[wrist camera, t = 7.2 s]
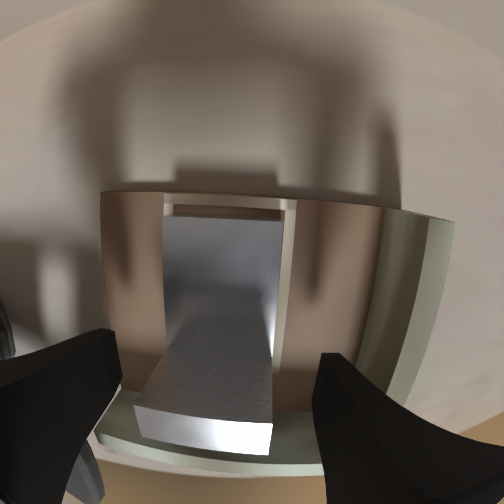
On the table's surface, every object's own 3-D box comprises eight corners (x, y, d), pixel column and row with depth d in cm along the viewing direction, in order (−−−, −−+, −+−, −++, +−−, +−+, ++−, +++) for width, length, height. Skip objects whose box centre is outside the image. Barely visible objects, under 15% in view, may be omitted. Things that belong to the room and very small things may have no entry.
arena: (401, 209, 11) (454, 222, 7) (353, 417, 13) (369, 470, 9) (105, 191, 11) (47, 197, 7) (127, 397, 14) (99, 443, 10)
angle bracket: (268, 368, 12) (267, 454, 7) (179, 359, 12) (141, 436, 7) (281, 217, 11) (292, 241, 6) (175, 212, 11) (110, 231, 6)
